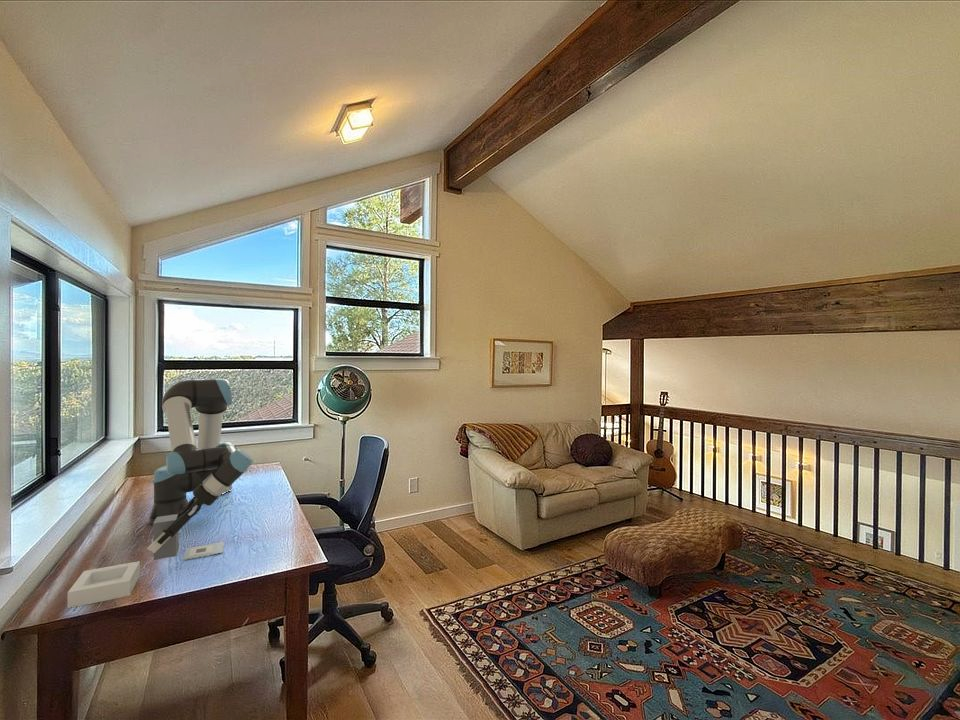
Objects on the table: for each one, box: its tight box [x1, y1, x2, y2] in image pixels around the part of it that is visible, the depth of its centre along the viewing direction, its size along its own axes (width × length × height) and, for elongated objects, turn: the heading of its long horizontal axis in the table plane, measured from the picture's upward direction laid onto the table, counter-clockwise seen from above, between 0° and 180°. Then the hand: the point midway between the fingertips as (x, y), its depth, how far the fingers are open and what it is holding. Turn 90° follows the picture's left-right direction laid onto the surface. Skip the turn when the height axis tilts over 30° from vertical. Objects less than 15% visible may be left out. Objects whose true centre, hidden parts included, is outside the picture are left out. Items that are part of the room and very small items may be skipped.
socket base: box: [67, 560, 141, 609], centre depth 133 cm, size 14×14×4 cm
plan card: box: [182, 541, 225, 561], centre depth 160 cm, size 10×12×1 cm
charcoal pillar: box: [152, 514, 180, 561], centre depth 145 cm, size 6×6×12 cm
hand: (152, 546), depth 144 cm, fingers closed on charcoal pillar, 6 cm apart
